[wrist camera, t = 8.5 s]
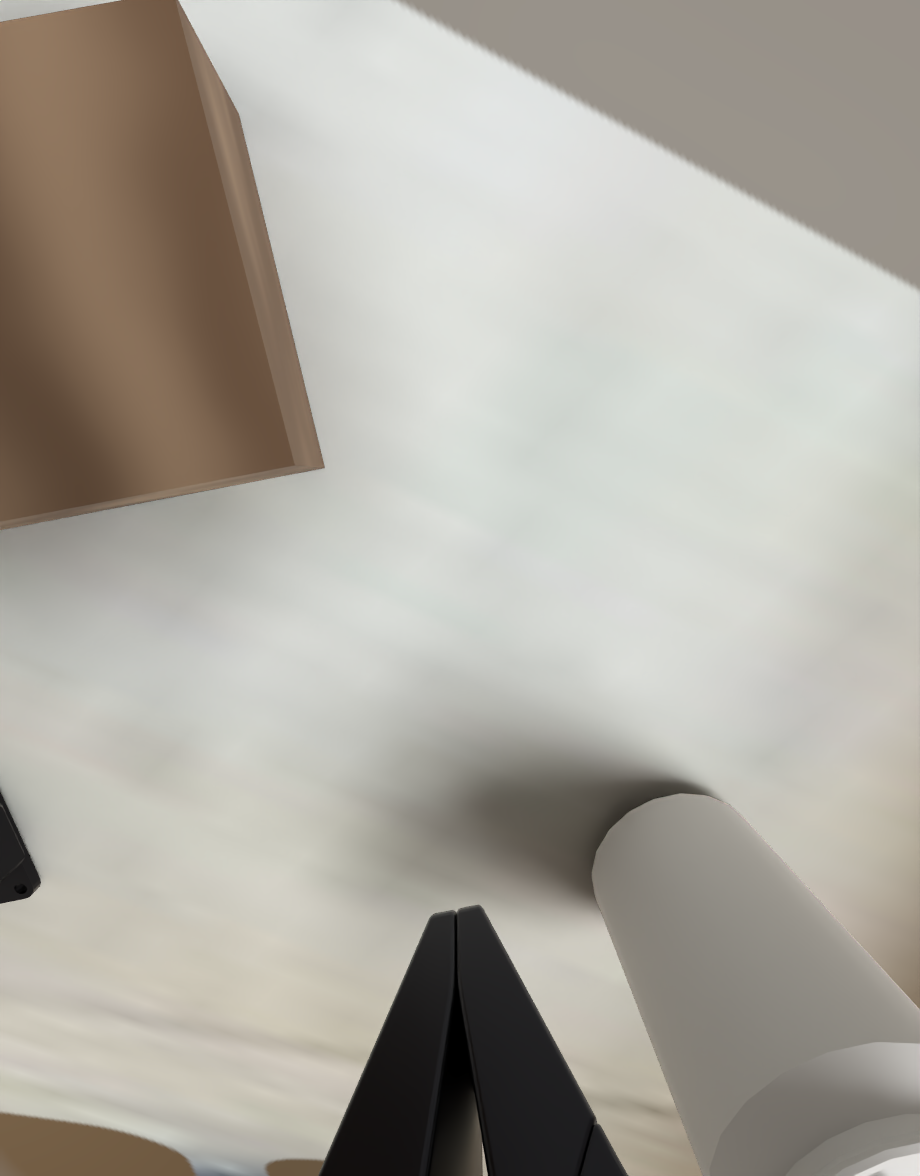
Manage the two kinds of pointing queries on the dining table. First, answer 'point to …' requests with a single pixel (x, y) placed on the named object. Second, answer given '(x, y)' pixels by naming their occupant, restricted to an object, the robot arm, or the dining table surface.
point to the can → (758, 1000)
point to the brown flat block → (133, 274)
